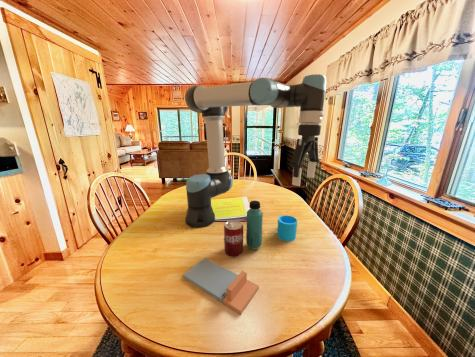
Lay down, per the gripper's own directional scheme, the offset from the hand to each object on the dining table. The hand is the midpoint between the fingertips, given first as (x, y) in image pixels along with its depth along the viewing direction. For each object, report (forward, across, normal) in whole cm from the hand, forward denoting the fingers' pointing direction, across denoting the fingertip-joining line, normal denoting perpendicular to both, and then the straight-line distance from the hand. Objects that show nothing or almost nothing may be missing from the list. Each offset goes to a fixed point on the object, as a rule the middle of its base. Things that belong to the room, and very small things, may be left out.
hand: (303, 181), depth 74 cm
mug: (+27, +3, +7) cm, 28 cm away
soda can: (+27, -23, +16) cm, 39 cm away
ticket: (+27, -37, +12) cm, 48 cm away
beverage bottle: (+27, -15, +12) cm, 33 cm away
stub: (+27, -36, +1) cm, 45 cm away
